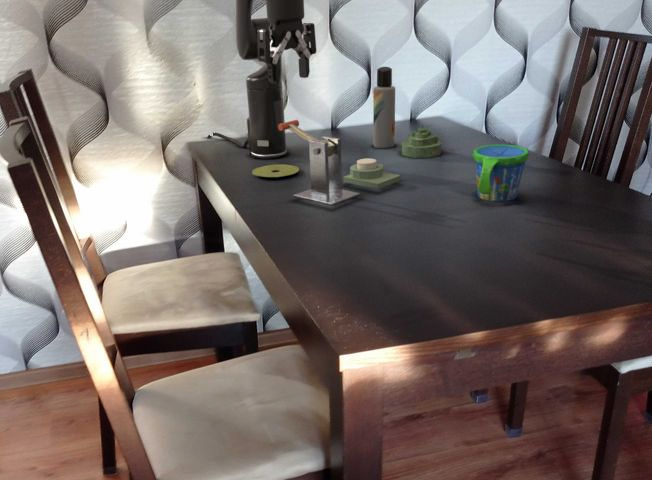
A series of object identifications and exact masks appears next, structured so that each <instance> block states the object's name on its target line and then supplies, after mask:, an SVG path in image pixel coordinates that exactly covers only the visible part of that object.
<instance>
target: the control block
mask: <svg viewBox="0 0 652 480" xmlns="http://www.w3.org/2000/svg"><path fill="white" fill-rule="evenodd" d="M401 179H402V175H401V174H396V173H390V172H385V170H384V165H383V164H381V163H377V168H376V169H372V170H360V169H357V163H356V164H355V163H354V164H352V165H351V166H350V168H349V174H348V175H345V176H343V183H346V184H351V185H356V186H360V187H365V188H369V189H370V188H371V189H376V190H380V189H382V188H385V187H388V186H390V185H393V184H396V183H398V182H401V181H402V180H401Z"/></svg>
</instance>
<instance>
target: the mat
mask: <svg viewBox="0 0 652 480" xmlns="http://www.w3.org/2000/svg"><path fill="white" fill-rule="evenodd" d="M299 171H300V168H299V167H298V166H295V165H292V164H283V163H282V164H279V163H278V164H269V165H264V166H260V167H256V168H254V169H253V170H252V171H251V173H252V175H253V176H257V177H263V178H280V177H286V176H291V175H294V174H296V173H298V172H299Z"/></svg>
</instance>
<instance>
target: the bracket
mask: <svg viewBox="0 0 652 480" xmlns="http://www.w3.org/2000/svg"><path fill="white" fill-rule="evenodd" d="M324 139H326V140H327V141H329V142H331V143H332V144H334V145H335V146H334V151H333V155H332V156H329V157H328V142H322V141H321V140H324ZM321 140H319V141H316V140H310V141H309V142H308V149H309V152H308V153H309V170H310V171H309V172H310V173H309V174H310V189H307V190H304V191H301V192H299V193H296V194H294V195H293V197H294V198H298V199H302V200H304V201H305V200H306V201H310V202H313V203H318V204H324V205H327V206H331V207H332V206H335V205H338V204H341V203H343V202H346V201H348V200H351V199H354V198H356V197H359V196H361V193H360V192H356V191H352V190H347V189H343V169H342V167H343V165H342V164H343V163H342V138H339V137H333V136H327V135H324V136H322V137H321Z"/></svg>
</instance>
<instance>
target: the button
mask: <svg viewBox="0 0 652 480" xmlns="http://www.w3.org/2000/svg"><path fill="white" fill-rule="evenodd" d="M356 164H357V169H360V170H372V169H376V168H377V164H378V162H377V159H375V158H360V159H358V160H356Z"/></svg>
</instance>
